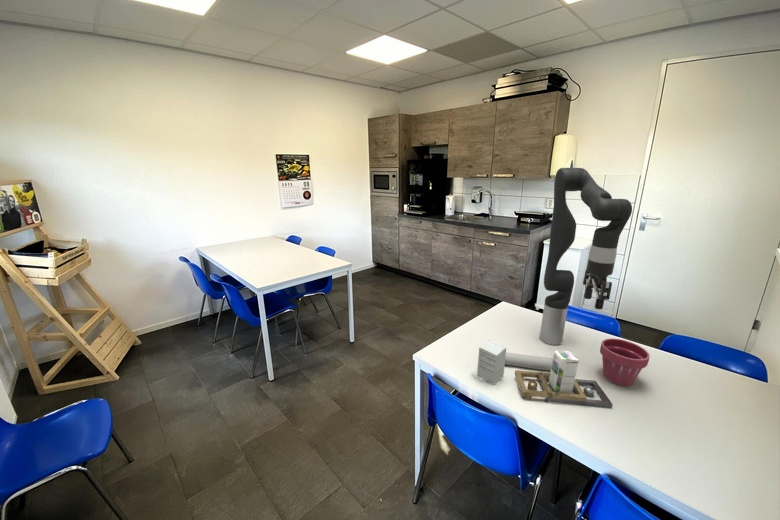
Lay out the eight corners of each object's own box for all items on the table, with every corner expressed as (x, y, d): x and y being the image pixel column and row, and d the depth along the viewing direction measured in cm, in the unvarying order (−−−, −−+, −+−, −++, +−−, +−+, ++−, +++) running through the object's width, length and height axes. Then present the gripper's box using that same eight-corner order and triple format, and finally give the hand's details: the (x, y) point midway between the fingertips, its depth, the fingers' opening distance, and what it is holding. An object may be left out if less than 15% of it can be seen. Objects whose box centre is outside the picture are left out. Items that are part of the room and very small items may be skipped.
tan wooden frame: (514, 377, 119) (515, 370, 119) (571, 382, 117) (572, 375, 116) (522, 399, 108) (523, 391, 107) (585, 405, 105) (587, 398, 104)
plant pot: (644, 377, 119) (652, 347, 115) (639, 397, 109) (647, 364, 105) (599, 362, 128) (605, 334, 125) (591, 378, 118) (597, 348, 115)
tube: (555, 356, 126) (489, 348, 131) (559, 360, 121) (490, 351, 126) (554, 370, 126) (488, 361, 131) (558, 374, 120) (489, 364, 126)
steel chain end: (536, 379, 118) (537, 373, 118) (594, 384, 115) (596, 378, 115) (547, 401, 107) (548, 395, 106) (611, 408, 104) (613, 401, 103)
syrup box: (547, 385, 115) (553, 350, 111) (563, 385, 115) (569, 350, 111) (555, 396, 109) (562, 360, 105) (572, 396, 109) (579, 359, 105)
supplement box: (486, 368, 125) (488, 339, 121) (503, 376, 120) (507, 347, 116) (475, 376, 120) (478, 346, 116) (494, 385, 115) (497, 355, 111)
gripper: (625, 266, 99) (614, 313, 104) (603, 253, 113) (595, 296, 117) (599, 265, 100) (589, 311, 105) (580, 252, 114) (573, 294, 118)
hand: (592, 303), depth 111 cm, fingers open, 8 cm apart
